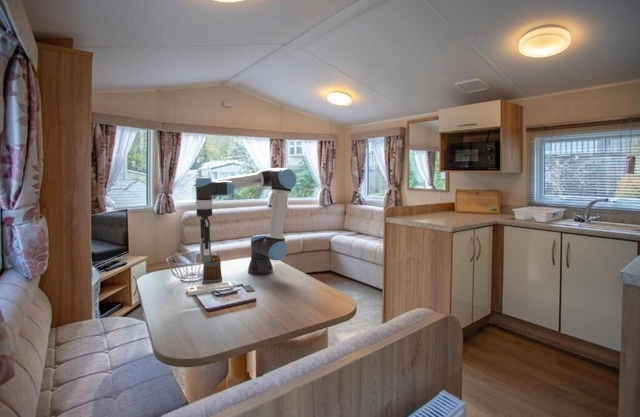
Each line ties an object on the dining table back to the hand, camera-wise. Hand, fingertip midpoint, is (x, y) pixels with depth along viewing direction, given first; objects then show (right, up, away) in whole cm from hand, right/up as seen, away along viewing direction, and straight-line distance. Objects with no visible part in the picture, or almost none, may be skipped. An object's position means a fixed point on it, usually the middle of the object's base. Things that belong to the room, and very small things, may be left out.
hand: (205, 253), depth 178 cm
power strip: (+4, -20, +5) cm, 21 cm away
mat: (+18, -20, +8) cm, 28 cm away
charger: (0, -4, 0) cm, 4 cm away
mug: (-2, -18, +20) cm, 27 cm away
